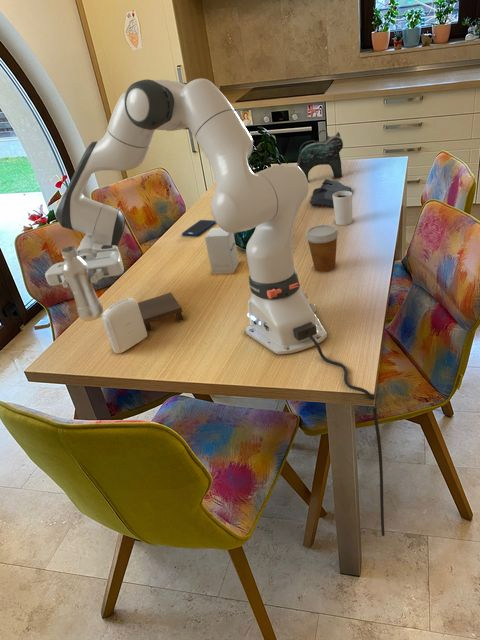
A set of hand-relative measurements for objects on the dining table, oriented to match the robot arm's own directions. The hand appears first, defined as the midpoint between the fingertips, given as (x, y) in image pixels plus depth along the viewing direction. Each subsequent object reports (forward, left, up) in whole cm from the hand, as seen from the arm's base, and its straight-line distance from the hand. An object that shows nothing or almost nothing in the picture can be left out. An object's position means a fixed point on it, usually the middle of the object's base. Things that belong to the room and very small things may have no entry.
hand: (79, 282), depth 144 cm
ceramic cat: (+76, -110, -17) cm, 135 cm away
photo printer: (-8, -7, -17) cm, 20 cm away
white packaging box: (+19, -44, -17) cm, 51 cm away
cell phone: (+60, -48, -17) cm, 79 cm away
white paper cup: (+27, -92, -17) cm, 98 cm away
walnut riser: (+1, -18, -17) cm, 25 cm away
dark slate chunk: (+52, -100, -17) cm, 114 cm away
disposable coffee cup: (-1, -69, -17) cm, 71 cm away
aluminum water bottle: (+1, 0, -11) cm, 11 cm away
